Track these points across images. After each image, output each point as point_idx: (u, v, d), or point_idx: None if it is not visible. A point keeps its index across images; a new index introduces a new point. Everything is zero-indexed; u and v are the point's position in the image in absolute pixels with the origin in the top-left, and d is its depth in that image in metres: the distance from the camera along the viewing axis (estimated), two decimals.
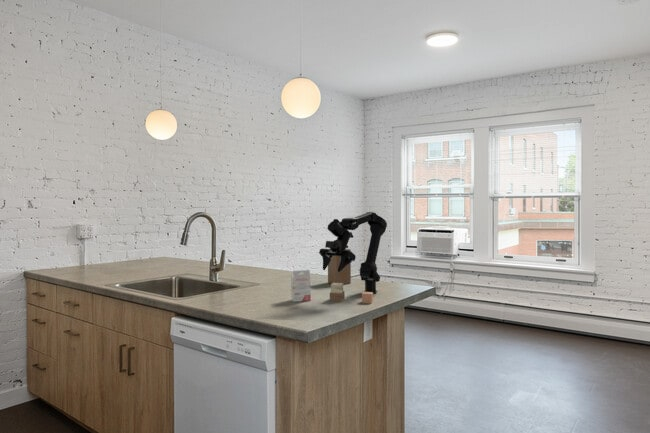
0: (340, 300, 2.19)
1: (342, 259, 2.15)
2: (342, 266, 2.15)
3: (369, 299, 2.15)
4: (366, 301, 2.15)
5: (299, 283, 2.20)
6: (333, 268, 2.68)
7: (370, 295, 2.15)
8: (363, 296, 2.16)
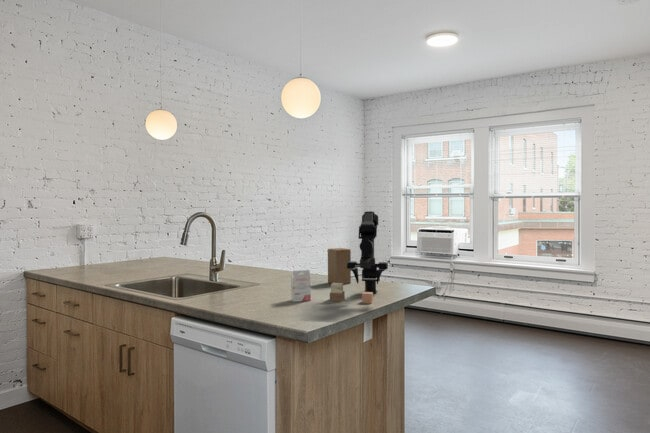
0: (340, 300, 2.20)
1: (379, 273, 2.14)
2: (379, 278, 2.16)
3: (369, 299, 2.15)
4: (366, 301, 2.15)
5: (299, 283, 2.20)
6: (333, 268, 2.68)
7: (370, 295, 2.15)
8: (363, 296, 2.16)
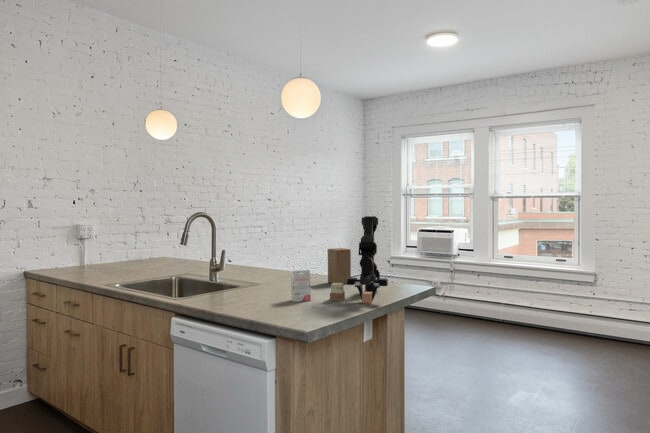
0: (340, 300, 2.20)
1: (374, 289, 2.15)
2: (374, 294, 2.17)
3: (369, 299, 2.15)
4: (366, 300, 2.15)
5: (299, 283, 2.20)
6: (333, 268, 2.68)
7: (370, 295, 2.15)
8: (363, 296, 2.16)
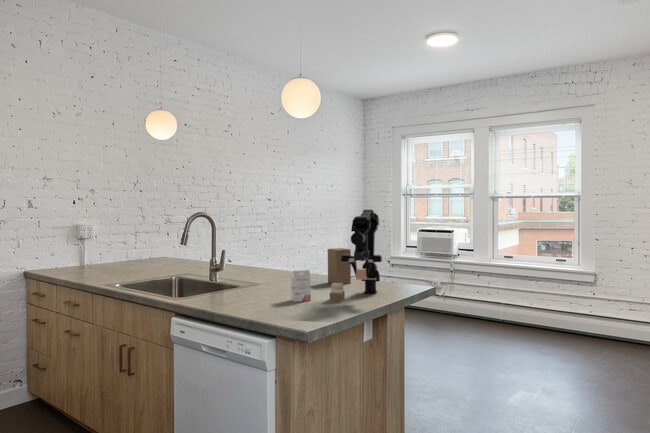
0: (340, 300, 2.19)
1: (368, 265, 2.16)
2: (368, 270, 2.18)
3: (363, 275, 2.16)
4: (360, 277, 2.16)
5: (299, 283, 2.20)
6: (333, 268, 2.68)
7: (364, 271, 2.16)
8: (357, 273, 2.16)
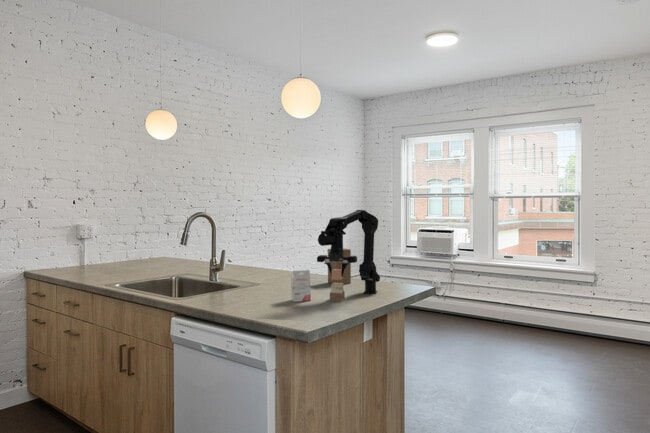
0: (340, 300, 2.20)
1: (344, 266, 2.20)
2: (344, 271, 2.22)
3: (338, 275, 2.20)
4: (335, 277, 2.20)
5: (299, 283, 2.20)
6: (333, 268, 2.68)
7: (339, 271, 2.20)
8: (332, 273, 2.21)
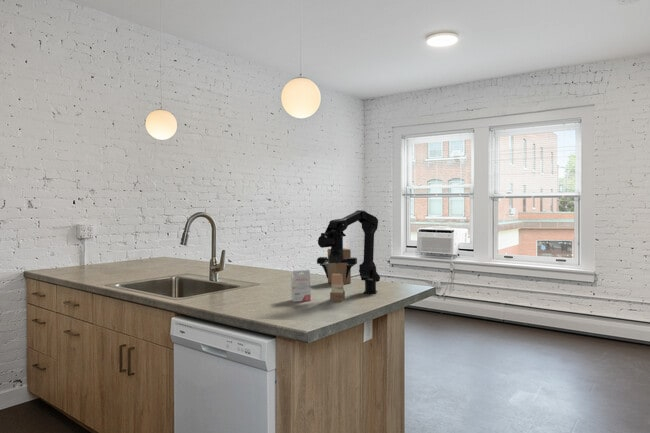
0: (340, 300, 2.20)
1: (348, 268, 2.19)
2: (348, 273, 2.22)
3: (338, 280, 2.20)
4: (335, 282, 2.21)
5: (299, 283, 2.20)
6: (333, 268, 2.68)
7: (339, 276, 2.20)
8: (332, 278, 2.21)
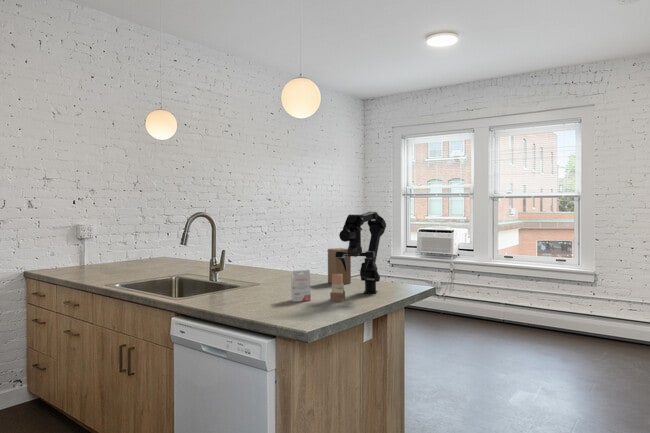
0: (341, 300, 2.20)
1: (366, 261, 2.24)
2: (366, 266, 2.26)
3: (339, 280, 2.20)
4: (336, 282, 2.21)
5: (299, 283, 2.20)
6: (333, 268, 2.68)
7: (340, 276, 2.20)
8: (333, 278, 2.21)
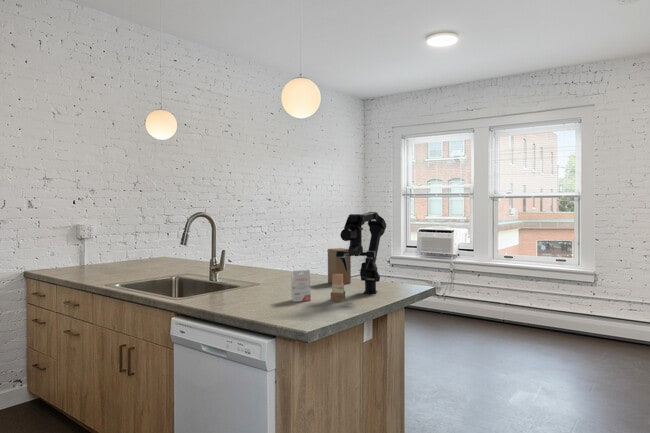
0: (341, 300, 2.20)
1: (367, 261, 2.24)
2: (367, 265, 2.26)
3: (339, 280, 2.20)
4: (336, 282, 2.21)
5: (299, 283, 2.20)
6: (333, 268, 2.68)
7: (340, 276, 2.20)
8: (333, 278, 2.21)
